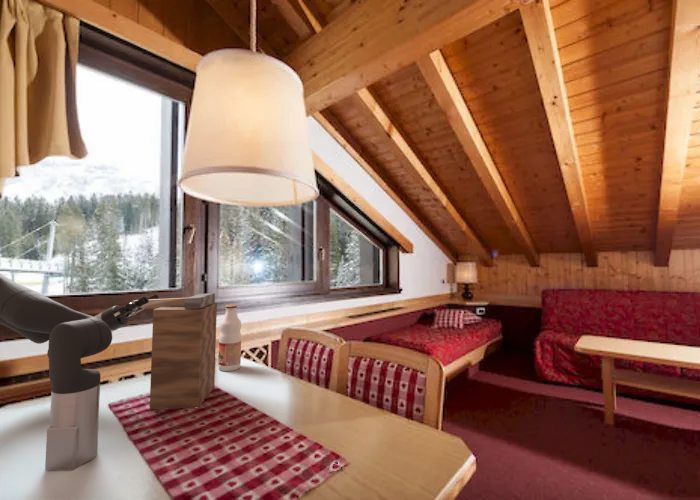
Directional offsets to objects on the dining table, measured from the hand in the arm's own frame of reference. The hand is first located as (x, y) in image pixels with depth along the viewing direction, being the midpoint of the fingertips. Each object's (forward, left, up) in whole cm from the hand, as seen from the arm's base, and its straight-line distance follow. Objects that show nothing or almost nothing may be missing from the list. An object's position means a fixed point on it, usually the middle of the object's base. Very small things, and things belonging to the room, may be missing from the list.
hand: (153, 297), depth 118 cm
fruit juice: (+32, -19, -35) cm, 51 cm away
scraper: (0, -6, -3) cm, 7 cm away
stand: (0, -12, -35) cm, 37 cm away
